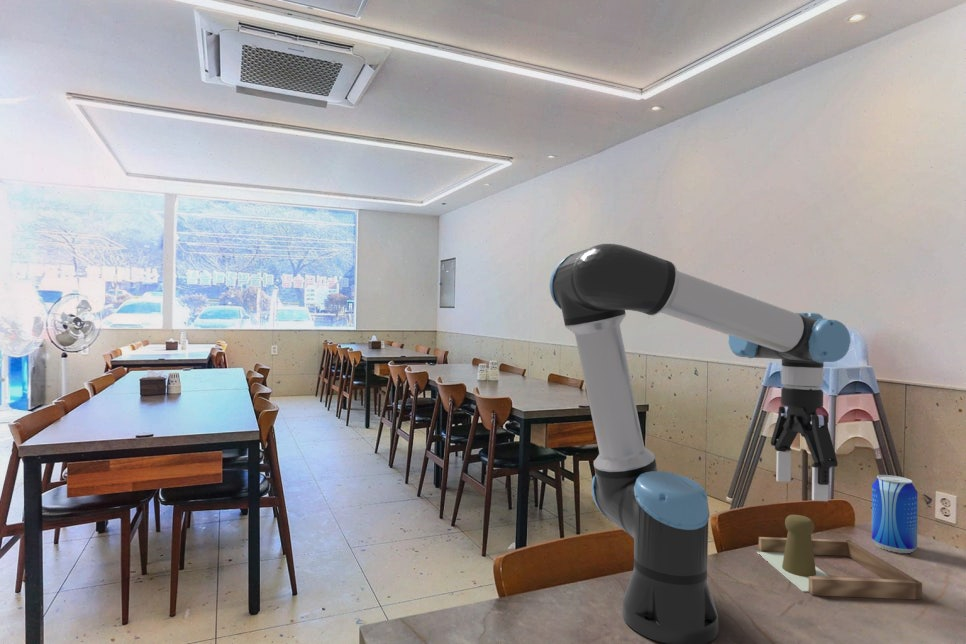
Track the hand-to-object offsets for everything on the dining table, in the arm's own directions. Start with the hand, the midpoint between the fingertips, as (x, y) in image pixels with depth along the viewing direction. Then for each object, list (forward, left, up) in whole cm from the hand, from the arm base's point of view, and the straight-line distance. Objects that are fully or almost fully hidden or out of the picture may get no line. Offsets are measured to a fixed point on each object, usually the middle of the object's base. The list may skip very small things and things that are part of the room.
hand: (800, 490), depth 111 cm
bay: (+7, 0, -17) cm, 18 cm away
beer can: (+30, +15, -17) cm, 37 cm away
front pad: (0, 0, -17) cm, 17 cm away
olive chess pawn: (0, 0, -17) cm, 17 cm away
